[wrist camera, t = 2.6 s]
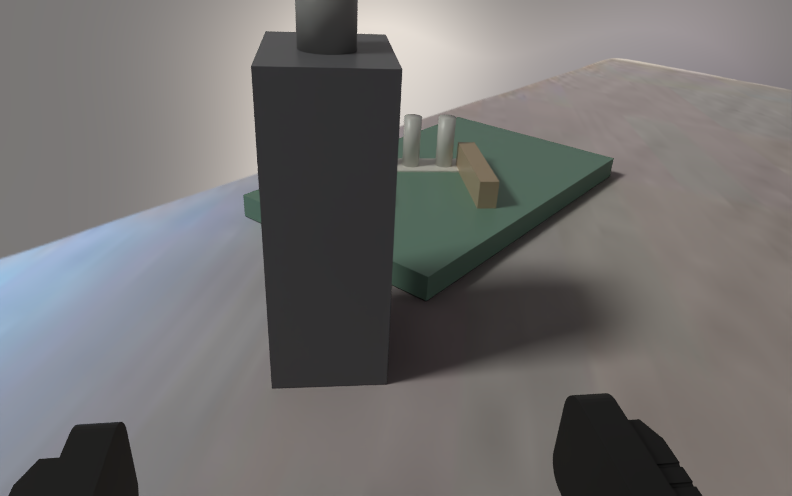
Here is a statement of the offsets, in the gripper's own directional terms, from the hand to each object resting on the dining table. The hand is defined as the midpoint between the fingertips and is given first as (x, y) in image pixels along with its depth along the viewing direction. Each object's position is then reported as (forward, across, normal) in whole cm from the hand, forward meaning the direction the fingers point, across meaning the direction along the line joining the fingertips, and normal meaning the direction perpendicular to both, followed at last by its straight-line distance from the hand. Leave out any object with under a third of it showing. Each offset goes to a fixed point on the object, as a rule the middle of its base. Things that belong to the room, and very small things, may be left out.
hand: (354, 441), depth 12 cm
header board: (+25, -8, +6) cm, 27 cm away
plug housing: (+11, 0, +6) cm, 13 cm away
